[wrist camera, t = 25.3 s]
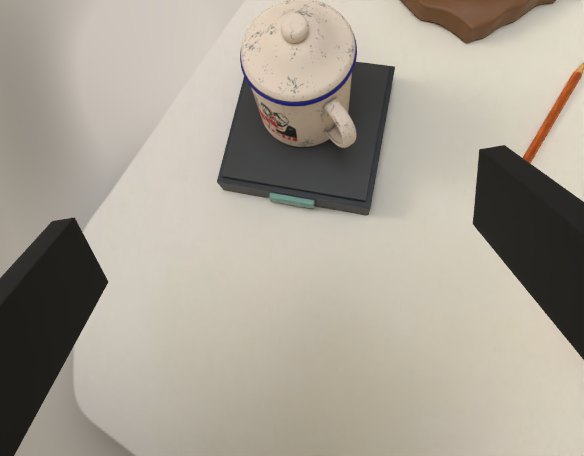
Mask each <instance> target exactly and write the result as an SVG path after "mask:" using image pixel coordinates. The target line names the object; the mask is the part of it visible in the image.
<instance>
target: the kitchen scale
mask: <svg viewBox="0 0 584 456" xmlns="http://www.w3.org/2000/svg"><path fill="white" fill-rule="evenodd" d="M394 70H395V67H393V66H385V65H377V64H369V63H362V62H355V66H354V69H353V71H352V77H351V88H350V99H349V109H348V114H349V116H350V118H351V119H352V121H353V124H354V126H355V129H356V140H355V142H354V143H353V144H352V145H350V146H349V147H346V148H341V147H339V146H337V145H336V144H335V143H334V142H333V141H332V140H331V139H329V140H327V141H325V142H323V143H321V144H318V145H315V146H310V147H296V146H291V145H288V144H285V143H283V142H281V141H279V140H278V139H276V138H275V137H274V136H273V135H272V134H271V133H270V132H269V131H268V130H267V128H266V127H265V125H264V123H263V120H262V118H261V115H260V112H259V109H258V106H257V103H256V100H255V97H254V94H253V91H252V88H251V86H250V85H249V83H248V82H247V80H246V78H245V76H244V79H243V83H242V87H241V91H240V95H239V98H238V102H237V106H236V110H235V114H234V118H233V122H232V125H231V129H230V133H229V137H228V141H227V145H226V149H225V153H224V156H223V160H222V164H221V168H220V172H219V176H218V180H217V182H218V184H219V185H220V186H221V187H222V188H223V190H227V191H232V192H238V193H244V194H249V195H255V196H261V197H266V198H270V200H271V201H272V202H278V203H284V204H289V205H295V206H301V207H306V208H312V209H314V206H317V207H323V208H329V209H334V210H340V211H346V212H351V213H357V214H363V215H368V213H369V210H370V206H371V201H372V195H373V189H374V184H375V178H376V172H377V167H378V161H379V155H380V149H381V144H382V138H383V132H384V127H385V121H386V115H387V110H388V104H389V98H390V92H391V87H392V81H393V75H394Z"/></svg>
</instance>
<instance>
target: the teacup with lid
mask: <svg viewBox="0 0 584 456" xmlns="http://www.w3.org/2000/svg"><path fill="white" fill-rule="evenodd" d="M356 56H357V46H356V40H355V37H354V34H353V32H352V29H351V27H350V25H349V24H348V22H347V21H346V20H345V18H344V17H343V16H342V15H341V14H340V13H339V12H337V11H336V10H335V9H333V8H332V7H330V6H328V5H326V4H324V3H321V2H318V1H314V0H289V1H285V2H281V3H278V4H276V5H274V6H272V7H270V8H268V9H267V10H265V11H264V12H262V13H261V14H260V15H259V16H258V17H257V18H256V19H255V20H254V21H253V22H252V24H251V25H250V27H249V28H248V30H247V32H246V34H245V36H244V39H243V42H242V47H241V53H240V62H241V68H242V71H243V74H244V76H245V78H246V80H247V82H248V83H249V85H250V86H251V88H252V91H253V94H254V97H255V100H256V103H257V106H258V109H259V112H260V115H261V118H262V120H263V123H264V125H265V127H266V128H267V130H268V131H269V132H270V133H271V134H272V135H273V136H274V137H275V138H276V139H278V140H279V141H281V142H283V143H285V144H288V145H291V146H296V147H310V146H315V145H318V144H321V143H323V142H325V141H327V140H329V139H331V140H332V141H333V142H334V143H335V144H336V145H337V146H339V147H341V148H346V147H349V146H350V145H352V144H353V143H354V142H355V140H356V129H355V126H354V124H353V121H352V119H351V118H350V116H349V114H348V109H349V99H350V88H351V77H352V71H353V69H354V66H355V62H356Z"/></svg>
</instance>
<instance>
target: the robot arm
mask: <svg viewBox="0 0 584 456" xmlns="http://www.w3.org/2000/svg"><path fill="white" fill-rule="evenodd" d="M473 225H474V226H475V227H476V229H477V230H478V231H479V232H480V233H481V235H482V236H483V237H484V238H485V240H486V241H487V242H488V243H489V244H490V246H491V247H492V248H493V249H494V251H495V252H496V253H497V254H498V255H499V257H500V258H501V259H502V260H503V262H504V263H505V264H506V265H507V266H508V268H509V269H510V270H511V271H512V273H513V274H514V275H515V276H516V277H517V279H518V280H519V281H520V282H521V284H522V285H523V286H524V287H525V288H526V290H527V291H528V292H529V293H530V295H531V296H532V297H533V298H534V299H535V301H536V302H537V303H538V304H539V306H540V307H541V308H542V309H543V310H544V312H545V313H546V314H547V315H548V317H549V318H550V319H551V320H552V321H553V323H554V324H555V325H556V326H557V328H558V329H559V330H560V331H561V332H562V334H563V335H564V336H565V337H566V339H567V340H568V341H569V342H570V343H571V345H572V346H573V347H574V348H575V350H576V351H577V352H578V353H579V354H580V356H581V357H582V358H583V359H584V202H583V201H582V200H580V199H579V198H577V197H576V196H575V195H573V194H572V193H570V192H569V191H568V190H566V189H565V188H563V187H562V186H561V185H559V184H558V183H556V182H555V181H554V180H552V179H551V178H549V177H548V176H547V175H545V174H544V173H542V172H541V171H540V170H538V169H537V168H536V167H534V166H533V165H531V164H530V163H529V162H527V161H526V160H524V159H523V158H522V157H520V156H519V155H517V154H516V153H515V152H513V151H512V150H510V149H509V148H508V147H506V146H505V145H503V146H497V147H491V148H485V149H479V160H478V172H477V183H476V194H475V206H474V217H473ZM107 284H108V280H107V278H106V276H105V274H104V273H103V271H102V269H101V267H100V265H99V263H98V261H97V259H96V257H95V255H94V254H93V252H92V250H91V248H90V246H89V244H88V242H87V240H86V238H85V237H84V235H83V233H82V231H81V229H80V227H79V225H78V223H77V221H76V220H75V218H69V219H63V220H57V221H52V222H51V223H50V224H49V225H48V226H47V228H46V229H45V230H44V231H43V232H42V233H41V234H40V235H39V236H38V237H37V238H36V240H35V241H34V242H33V243H32V244H31V245H30V246H29V247H28V248H27V249H26V251H25V252H24V253H23V254H22V255H21V256H20V257H19V258H18V259H17V260H16V261H15V263H14V264H13V265H12V266H11V267H10V268H9V269H8V270H7V271H6V273H5V274H4V275H3V276H2V277H1V278H0V456H14V455H15V453H16V451H17V449H18V447H19V446H20V444H21V442H22V440H23V438H24V436H25V434H26V433H27V431H28V429H29V427H30V425H31V423H32V422H33V420H34V418H35V416H36V414H37V412H38V411H39V409H40V407H41V405H42V403H43V401H44V399H45V398H46V396H47V394H48V392H49V390H50V388H51V387H52V385H53V383H54V381H55V379H56V377H57V376H58V374H59V372H60V370H61V368H62V366H63V365H64V363H65V361H66V359H67V357H68V355H69V354H70V351H71V350H72V348H73V346H74V344H75V343H76V341H77V339H78V337H79V335H80V333H81V331H82V330H83V328H84V326H85V324H86V322H87V320H88V319H89V317H90V315H91V313H92V311H93V309H94V308H95V306H96V304H97V302H98V300H99V298H100V297H101V295H102V293H103V291H104V289H105V287H106V285H107Z"/></svg>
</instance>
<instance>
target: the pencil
mask: <svg viewBox="0 0 584 456" xmlns="http://www.w3.org/2000/svg"><path fill="white" fill-rule="evenodd" d="M583 69H584V63H583V64H582V65H581V66H580V67H579V68H578V69H577V70H576V71H575V72H574V73H573V75H572V77H571V78H570V80H569V82H568V83H567V85H566V87H565V88H564V90H563V92H562V93H561V95H560V97H559V99H558V100H557V102H556V104H555V105H554V107H553V109H552V110H551V112H550V114H549V115H548V117H547V119H546V120H545V122H544V124H543V126H542V127H541V129H540V131H539V132H538V134H537V136H536V137H535V139H534V141H533V142H532V144H531V146H530V147H529V149H528V151H527V153H526V154H525V156H524V158H523V159H524V160H526V161H527V162H529V163H531V161H532V159H533V158H534V156H535V154H536V153H537V151H538V149H539V148H540V146H541V144H542V142H543V141H544V139H545V137H546V136H547V134H548V132H549V131H550V129H551V127H552V125H553V124H554V122H555V120H556V119H557V117H558V115H559V114H560V112H561V110H562V108H563V107H564V105H565V103H566V102H567V100H568V98H569V97H570V95H571V93H572V91H573V90H574V88H575V86H576V85H577V83H578V81H579V80H580V78H581V76H582V73H583Z"/></svg>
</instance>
